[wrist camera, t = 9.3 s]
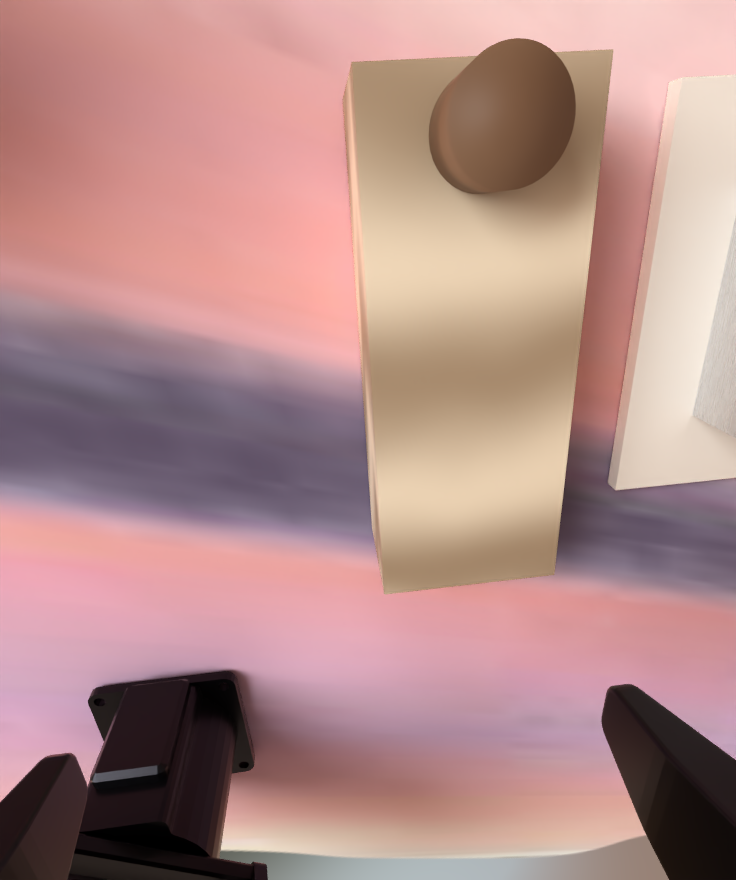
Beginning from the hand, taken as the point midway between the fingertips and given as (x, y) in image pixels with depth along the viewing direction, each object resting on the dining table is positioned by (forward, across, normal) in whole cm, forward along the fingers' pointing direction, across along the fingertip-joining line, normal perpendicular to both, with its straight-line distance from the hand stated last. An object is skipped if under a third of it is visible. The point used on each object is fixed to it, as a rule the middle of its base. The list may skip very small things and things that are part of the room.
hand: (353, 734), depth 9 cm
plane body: (+12, -4, -4) cm, 13 cm away
